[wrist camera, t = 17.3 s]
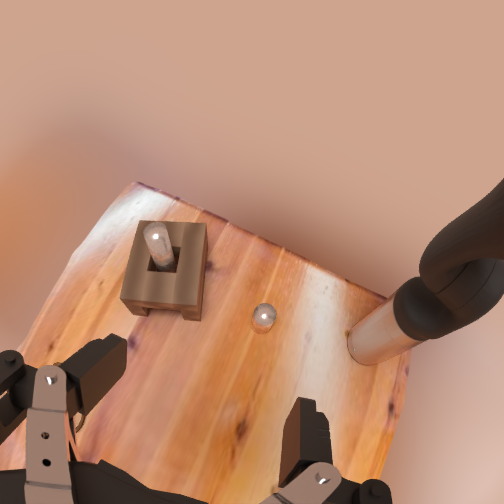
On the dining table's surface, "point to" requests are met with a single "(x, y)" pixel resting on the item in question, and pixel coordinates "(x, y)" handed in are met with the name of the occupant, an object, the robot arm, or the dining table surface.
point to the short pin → (263, 318)
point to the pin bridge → (167, 284)
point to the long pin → (160, 247)
